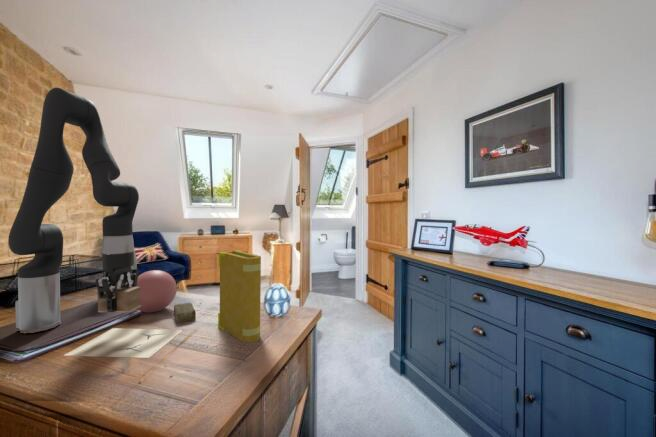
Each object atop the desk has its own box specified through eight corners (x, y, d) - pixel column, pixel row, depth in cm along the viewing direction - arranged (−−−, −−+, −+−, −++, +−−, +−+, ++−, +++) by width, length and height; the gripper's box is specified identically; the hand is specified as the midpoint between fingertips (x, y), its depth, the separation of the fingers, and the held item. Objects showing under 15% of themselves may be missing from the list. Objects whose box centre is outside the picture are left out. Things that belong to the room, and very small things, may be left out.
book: (218, 327, 93) (218, 252, 92) (236, 321, 98) (237, 250, 97) (245, 344, 81) (246, 259, 80) (264, 337, 86) (265, 256, 85)
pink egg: (162, 299, 119) (162, 263, 119) (183, 310, 107) (183, 270, 106) (118, 308, 107) (118, 268, 107) (137, 322, 95) (136, 277, 94)
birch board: (63, 361, 71) (63, 355, 71) (112, 333, 87) (112, 328, 87) (149, 363, 71) (149, 357, 71) (182, 334, 87) (182, 330, 87)
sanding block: (98, 312, 80) (97, 291, 80) (111, 306, 85) (111, 286, 85) (129, 312, 80) (128, 291, 80) (141, 306, 85) (140, 286, 85)
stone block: (177, 329, 91) (177, 313, 91) (173, 317, 100) (172, 303, 100) (196, 325, 94) (196, 310, 94) (190, 314, 104) (190, 301, 104)
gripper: (123, 247, 89) (124, 299, 90) (84, 254, 75) (85, 317, 76) (147, 247, 89) (148, 300, 90) (111, 255, 75) (113, 317, 75)
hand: (119, 307), depth 83 cm, fingers closed on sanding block, 5 cm apart
